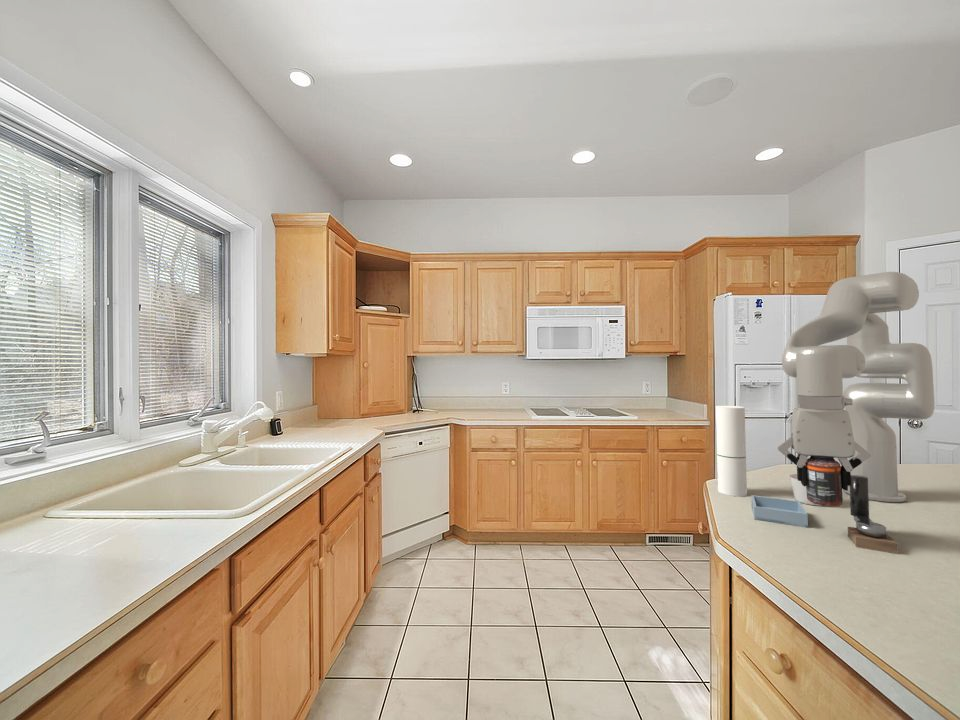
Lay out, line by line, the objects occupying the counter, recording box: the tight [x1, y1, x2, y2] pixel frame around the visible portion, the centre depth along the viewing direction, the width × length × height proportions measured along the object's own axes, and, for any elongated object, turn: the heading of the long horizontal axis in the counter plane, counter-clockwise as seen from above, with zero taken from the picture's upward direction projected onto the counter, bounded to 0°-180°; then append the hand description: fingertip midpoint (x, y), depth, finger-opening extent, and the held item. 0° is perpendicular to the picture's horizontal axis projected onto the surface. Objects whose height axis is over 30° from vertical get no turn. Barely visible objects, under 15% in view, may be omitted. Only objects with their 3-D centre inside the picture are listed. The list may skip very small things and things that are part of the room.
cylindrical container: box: [715, 405, 748, 497], centre depth 115 cm, size 7×7×25 cm
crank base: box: [847, 526, 899, 555], centre depth 81 cm, size 6×6×2 cm
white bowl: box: [789, 473, 824, 507], centre depth 106 cm, size 9×9×6 cm
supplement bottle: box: [804, 456, 844, 507], centre depth 86 cm, size 6×6×11 cm
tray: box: [750, 494, 809, 528], centre depth 97 cm, size 10×10×3 cm
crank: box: [849, 475, 888, 537], centre depth 84 cm, size 11×4×10 cm, turn 149°
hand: (823, 485), depth 86 cm, fingers closed on supplement bottle, 6 cm apart
